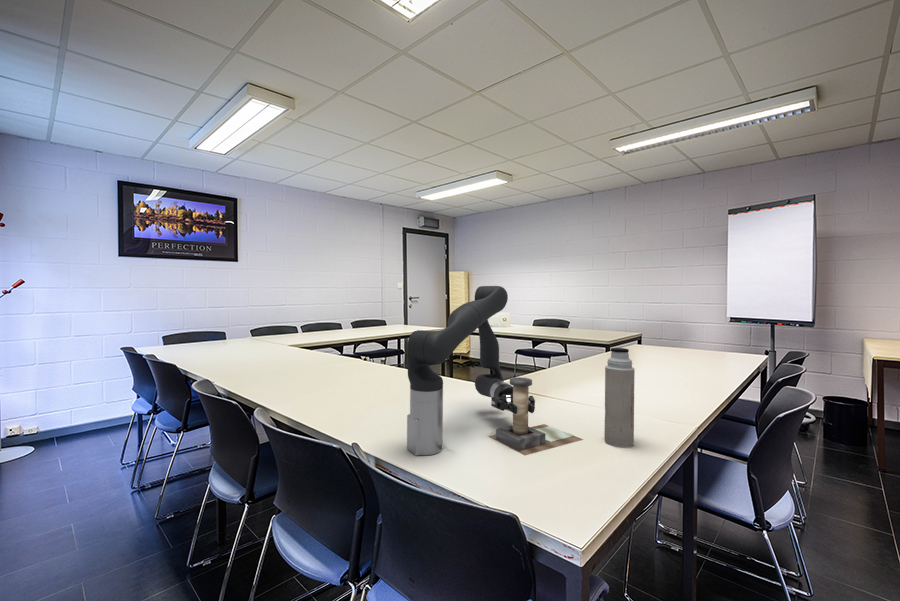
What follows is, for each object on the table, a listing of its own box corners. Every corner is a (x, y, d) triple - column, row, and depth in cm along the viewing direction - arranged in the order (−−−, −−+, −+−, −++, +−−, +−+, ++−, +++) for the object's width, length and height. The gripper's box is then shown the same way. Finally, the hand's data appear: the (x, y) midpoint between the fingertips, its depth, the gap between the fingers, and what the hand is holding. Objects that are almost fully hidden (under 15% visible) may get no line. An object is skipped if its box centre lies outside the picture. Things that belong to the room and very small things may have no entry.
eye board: (524, 459, 102) (524, 444, 102) (488, 439, 116) (488, 426, 116) (583, 442, 114) (583, 429, 114) (544, 427, 128) (544, 415, 128)
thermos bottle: (636, 441, 115) (637, 348, 115) (630, 449, 109) (631, 350, 109) (608, 435, 120) (609, 345, 120) (601, 443, 114) (602, 348, 114)
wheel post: (519, 447, 107) (519, 383, 107) (504, 440, 113) (505, 378, 113) (536, 443, 111) (536, 380, 111) (521, 436, 116) (521, 376, 116)
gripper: (483, 384, 124) (500, 397, 108) (525, 382, 127) (548, 395, 110) (483, 407, 124) (500, 424, 108) (524, 405, 127) (547, 421, 110)
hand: (524, 409), depth 109 cm, fingers closed on wheel post, 4 cm apart
